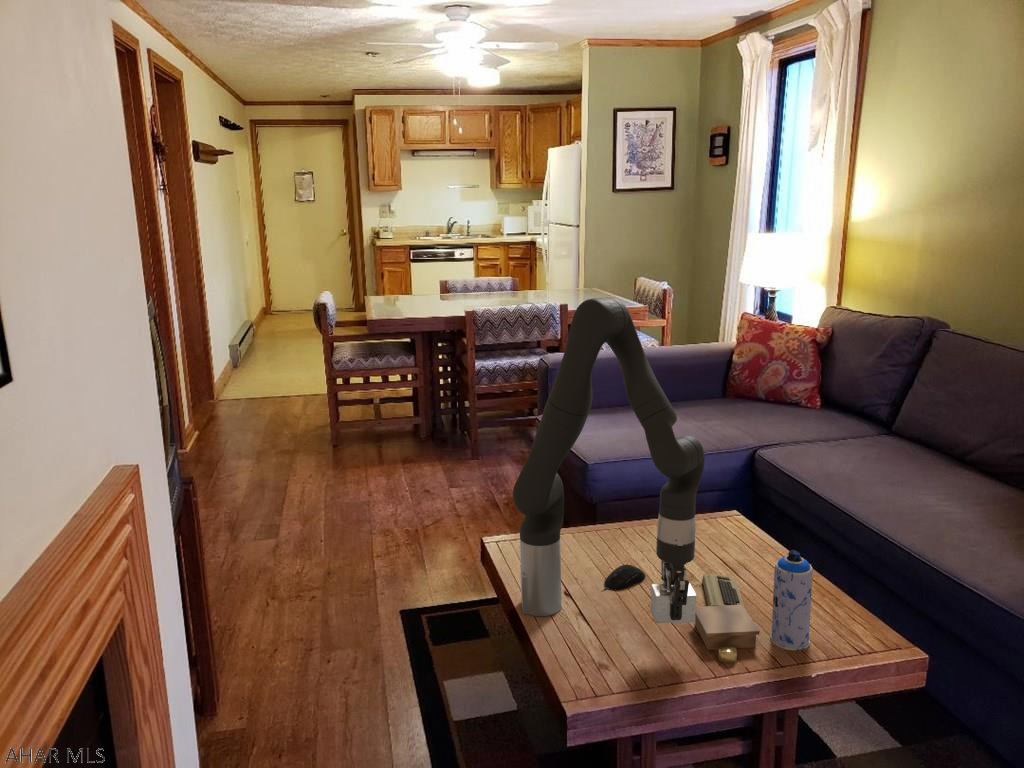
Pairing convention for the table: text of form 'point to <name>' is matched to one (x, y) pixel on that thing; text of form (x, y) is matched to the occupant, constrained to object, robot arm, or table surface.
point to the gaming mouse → (624, 577)
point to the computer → (721, 590)
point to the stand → (726, 626)
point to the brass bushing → (727, 654)
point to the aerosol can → (792, 602)
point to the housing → (662, 605)
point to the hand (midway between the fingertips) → (672, 611)
